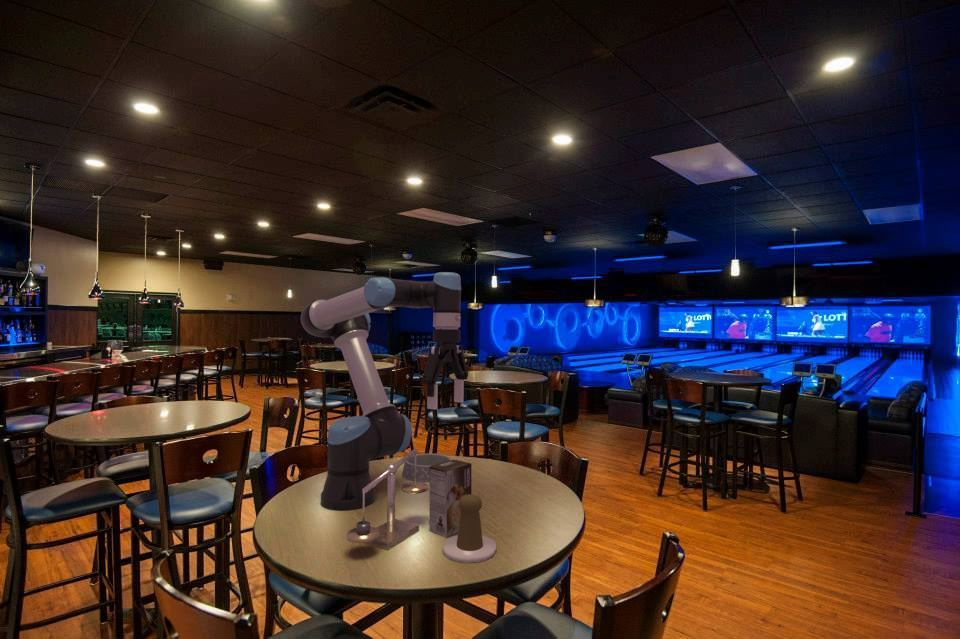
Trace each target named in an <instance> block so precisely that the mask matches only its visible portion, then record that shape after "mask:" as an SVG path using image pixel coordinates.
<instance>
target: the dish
mask: <svg viewBox="0 0 960 639" xmlns="http://www.w3.org/2000/svg"><path fill="white" fill-rule="evenodd" d="M457 537H458V534H457V535H456V534H455V535H452V536H449V537H447V538H446V540H444V541H443V543H442V554H443V555H444V557H446V558H447V559H449V560H451V561H454V562H458V563H463V564H464V563H465V564H474V563H481V562H486V561H488V560H490V559H491V558H493V557H494V556H495V554H496V552H497V548H496V547H497V544H496V542H495V541H494V540H493V539H492V538H490V537H488V536H486V535H483V534H482V540H483V547H482V548H481V549H479V550H475V551H464V550H461V549H459V548H458V547H457V545H456V544H457Z"/></svg>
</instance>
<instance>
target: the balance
mask: <svg viewBox="0 0 960 639" xmlns="http://www.w3.org/2000/svg"><path fill="white" fill-rule="evenodd" d="M417 454H418V449H417V448H413V449H412V450H410V451H409V452H408V453H407V454H406V455H404V456H403V457H402V458H400V459H399V460H398V461H397V462H395V463H390V464H388V465H387V466H386V468H385V471H384V472H382V473H381V474H380V475H379V476H377V477H376V478H375V479H374V480H371V483H370V484H368V485H367V486H366V487H364V488H363V489H362V492H363V507H362V520H361V521H358V522H357V523H356V527H354V528H352V529H350V530H348V531H347V534H346V539H347V541H348V542H350V543H354V544H365V545H368V544H369V546H373V547H376V548H379V549H383V550H387V551H388V550H390V549H392V548H394V547H395V546H397V545H399V544H400V543H402V542H403V541H405V540H407V539H408V538H410V537H412V536H413V535H415V534H417V533H418V532H419V531H420V524H417V523H413V522H409V521H404V520H400V519H396V473H397V472H398V468H400V467H401V466H402V465H404V463H405V462H406V461H407V460H408V459H410V458H411V457H412V456H413V455H415V477H414V481H409V482H405V483H403V484H401V488H400V489H401V491H402V492H403V493H404V494H411V495H413V494H414V495H415V494H422V493H425V492H428V491H430V484H429V483H428V482H416V455H417ZM386 478H387V500H386V502H387V504H386V507H387V508H386V510H387V511H386V514H387V515H386V522H384V523H383V524H380V525H379V526H376V527H374V526H371V522H370V521H368V520H365V513H366V512H365V509H366V508H365V507H366V506H365V493H367V492H368V491H369V490H371V489H372V488H374V487H375V486H376V485H379V483H381V482H382V481H383V480H384V479H386Z"/></svg>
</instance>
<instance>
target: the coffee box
mask: <svg viewBox="0 0 960 639" xmlns="http://www.w3.org/2000/svg"><path fill="white" fill-rule="evenodd" d="M468 494H472V463H471V462H467V461H462V460H459V459H452V460H450V461H447V462H443V463H440V464H436V465H433V466H430V482H429V507H428V508H429V511H428V512H429V515H428V516H429V521H428V522H429V523H428V524H429V532H432V533H434V534H438V535H440V536H442V537H444V538H450V537H452V536H454V535H456V534H458V530H459V523H460V516H461V510H460V508H459V500H460V498H461V497H462V496H464V495H468Z"/></svg>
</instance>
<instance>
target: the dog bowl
mask: <svg viewBox="0 0 960 639" xmlns="http://www.w3.org/2000/svg"><path fill="white" fill-rule="evenodd" d="M450 460H453V458H452V457H450V456H448V455H445V454H441V453H420V454H418V453H416V482H424V483H430V466H433V465H436V464H440V463H443V462H447V461H450ZM401 477H402V478H403V479H404V478H405V480H406V479H407V481H409V480H410V481H409V482H414V477H415V455H413V456H412V457H411V458H410V459H408V460H407V461H406V462H405V463H403V467H402V471H401Z"/></svg>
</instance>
